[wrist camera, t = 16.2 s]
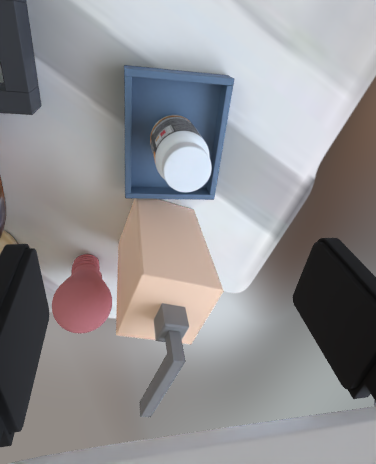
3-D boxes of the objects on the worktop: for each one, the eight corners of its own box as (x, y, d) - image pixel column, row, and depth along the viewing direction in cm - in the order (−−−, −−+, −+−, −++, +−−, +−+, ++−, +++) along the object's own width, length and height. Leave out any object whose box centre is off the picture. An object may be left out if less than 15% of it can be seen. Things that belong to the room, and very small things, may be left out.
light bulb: (123, 265, 47) (123, 329, 38) (84, 286, 48) (74, 353, 39) (94, 233, 43) (85, 295, 34) (52, 256, 44) (32, 323, 35)
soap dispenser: (136, 192, 41) (145, 325, 23) (194, 209, 44) (243, 339, 26) (110, 265, 47) (101, 415, 29) (163, 275, 50) (185, 418, 32)
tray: (124, 65, 33) (124, 68, 31) (227, 75, 35) (234, 78, 33) (125, 189, 41) (125, 198, 38) (209, 191, 43) (214, 199, 41)
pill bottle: (139, 140, 37) (144, 174, 29) (172, 102, 35) (186, 126, 27) (174, 169, 40) (187, 208, 31) (206, 136, 38) (228, 167, 30)
